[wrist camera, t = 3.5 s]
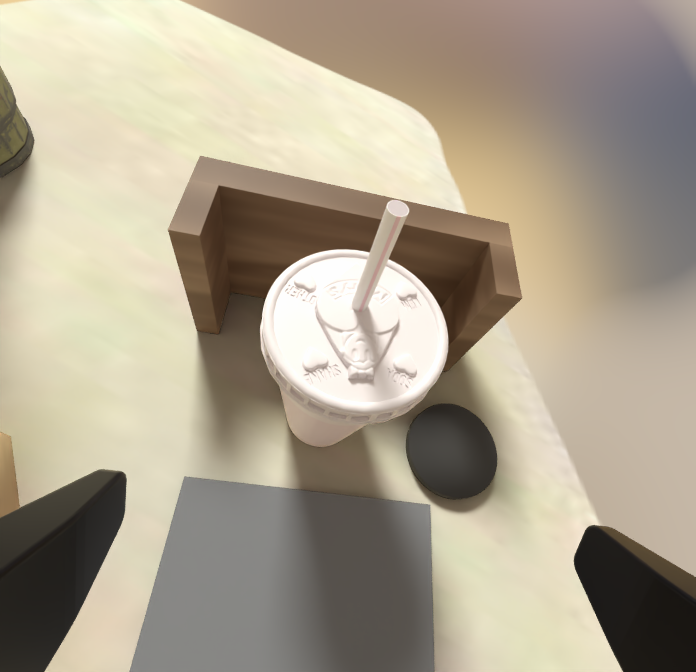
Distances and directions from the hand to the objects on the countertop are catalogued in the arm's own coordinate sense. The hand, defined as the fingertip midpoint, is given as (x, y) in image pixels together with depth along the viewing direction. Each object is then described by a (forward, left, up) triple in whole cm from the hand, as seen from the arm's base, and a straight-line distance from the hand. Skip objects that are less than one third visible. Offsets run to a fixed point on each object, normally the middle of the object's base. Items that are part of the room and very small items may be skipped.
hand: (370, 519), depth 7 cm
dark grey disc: (+3, -8, -12) cm, 15 cm away
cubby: (+12, -2, -12) cm, 17 cm away
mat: (-2, 0, -12) cm, 13 cm away
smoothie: (+6, -1, -12) cm, 14 cm away
